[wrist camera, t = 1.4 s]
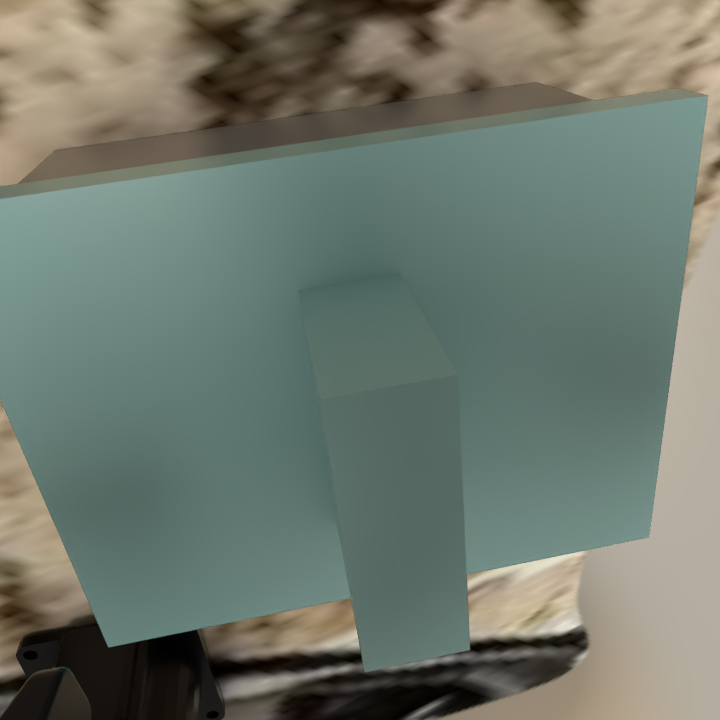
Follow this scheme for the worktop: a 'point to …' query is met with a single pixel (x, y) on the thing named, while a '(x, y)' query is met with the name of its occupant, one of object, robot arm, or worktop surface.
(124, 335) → the lid
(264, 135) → the tub
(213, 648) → the worktop surface
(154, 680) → the robot arm
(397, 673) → the worktop surface
